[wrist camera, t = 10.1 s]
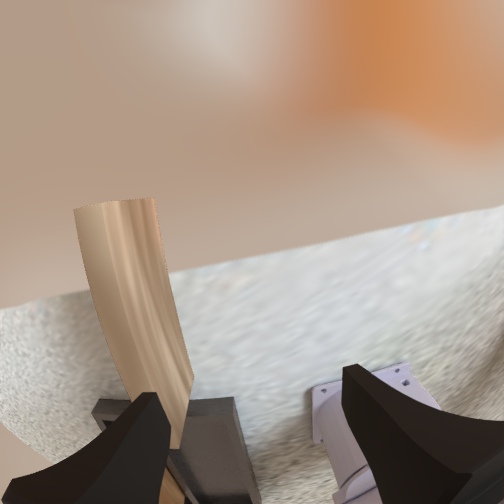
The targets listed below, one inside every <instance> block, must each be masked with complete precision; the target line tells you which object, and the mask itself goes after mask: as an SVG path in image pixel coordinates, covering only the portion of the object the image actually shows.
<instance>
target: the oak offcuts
mask: <svg viewBox="0 0 504 504" xmlns="http://www.w3.org/2000/svg"><path fill="white" fill-rule="evenodd" d="M184 499H185V492H184V491H183V489H182V488H181V486H180V485H179V483H178V482H177V480H176V479H175V477H174V476H173V474H172V473H171V471H170V470H169V468H168V466H167V465H166V467H165V472H164V476H163V481H162V485H161V490H160V496H159V504H184Z"/></svg>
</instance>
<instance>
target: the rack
mask: <svg viewBox="0 0 504 504" xmlns="http://www.w3.org/2000/svg"><path fill="white" fill-rule="evenodd" d="M131 403H132V401H131V400H110V399H99V400H98V402H97V404H96V406H95V407H94V409H93V411H92V412H91V413H92V415H93V417H94V419H95V420H96V422H97V424H98V425H99V427H100V429H101V430H102V432H103V431H104V430H105V429H106V428H107V427H108V426H109V425H111V424H112V423H113V422H114V421H115V420H116V419H117V418H118V417H119V416H120V415H121V414H122V413H123V412H124V411H125V409H126V408H127V407H128V406H129V405H130V404H131ZM166 465H167V466H168V468H169V470H170V471H171V473H172V474H173V476H174V477H175V479H176V480H177V482H178V483H179V485H180V486H181V488H182V489H183V491H184V492H185V499H184V504H262V502H261V496H260V493H259V490H258V486H257V483H256V480H255V476H254V473H253V469H252V466H251V462H250V459H249V455H248V452H247V448H246V444H245V440H244V437H243V433H242V429H241V425H240V421H239V417H238V414H237V410H236V406H235V401H234V397H226V398H214V399H200V400H189V403H188V408H187V412H186V417H185V422H184V427H183V432H182V437H181V442H180V447H179V449H169V454H168V458H167V463H166Z"/></svg>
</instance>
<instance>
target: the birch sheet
mask: <svg viewBox="0 0 504 504" xmlns="http://www.w3.org/2000/svg"><path fill="white" fill-rule="evenodd" d="M74 216H75V221H76V228H77V233H78V239H79V243H80V248H81V253H82V257H83V262H84V266H85V271H86V275H87V278H88V282H89V286H90V290H91V293H92V297H93V300H94V304H95V307H96V310H97V314H98V317H99V320H100V323H101V326H102V329H103V332H104V335H105V338H106V341H107V343H108V346H109V349H110V351H111V354H112V357H113V359H114V362H115V364H116V367H117V369H118V372H119V374H120V377H121V379H122V381H123V384H124V386H125V388H126V390H127V393H128V395H129V397H130V399H131V401H132V402H133V401H134V400H135V399H136V398H137V397H138V396H139V395H140V394H141V393H142V392H157V395H158V397H159V399H160V402H161V404H162V406H163V409H164V411H165V413H166V415H167V418H168V420H169V422H170V424H171V440H170V449H179V447H180V442H181V437H182V432H183V427H184V422H185V417H186V412H187V408H188V403H189V398H190V393H191V389H192V384H193V380H194V374H193V370H192V367H191V364H190V360H189V357H188V353H187V349H186V346H185V342H184V338H183V335H182V331H181V327H180V323H179V319H178V315H177V311H176V307H175V302H174V298H173V294H172V289H171V285H170V280H169V276H168V269H167V264H166V259H165V254H164V249H163V244H162V238H161V233H160V227H159V221H158V215H157V209H156V203H155V198H146V199H133V200H121V201H111V202H101V203H97V204H93V205H90V206H85V207H82V208H78V209H74Z"/></svg>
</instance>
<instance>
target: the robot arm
mask: <svg viewBox="0 0 504 504" xmlns="http://www.w3.org/2000/svg"><path fill="white" fill-rule="evenodd" d="M410 367H411V365H410V363H409V362H403V363H400V364H397V365H394V366H391V367H387V368H384V369H381V370H378V371H374V372H371V373H370V372H369V371H367V370H366V369H365V368H363V367H362V366H360V365H359V364H354V365H350V366H346V367H343V374H342V380H340V381H336V382H332V383H327V384H323V385H318V386H315V387H313V388H312V391H311V395H312V440H313V443H314V444H320V443H324V444H325V447H326V450H327V453H328V456H329V459H330V462H331V465H332V469H333V472H334V475H335V478H336V481H337V484H338V487H339V491H337V492H335V493H334V494H332V496H333V500H334V503H335V504H504V421H492V420H482V419H474V418H469V417H464V416H459V415H456V414H452V413H448V412H445V411H442V409H441V408H440V406H439V405H438V403H437V402H436V401H435V400H434V399H433V398H432V396H431V395H430V394H429V393H428V392H427V391H426V389H425V388H424V387H423V386H422V385H421V384H420V383H419V381H418V380H417V379H416V378H415V377H414V376H413V375H412V373H411V372H410ZM396 369H397V370H396ZM395 370H396V371H395ZM322 389H325V390H323V391H321V390H322ZM170 440H171V424H170V422H169V420H168V418H167V415H166V413H165V411H164V409H163V406H162V404H161V402H160V399H159V397H158V395H157V392H142V393H141V394H140V395H139V396H138V397H137V398H136V399H135V400H134V401H133V402H132V403H131V404H130V405H129V406H128V407H127V408H126V409H125V411H124V412H123V413H122V414H121V415H120V416H119V417H118V418H117V419H116V420H115V421H114V422H113V423H112V424H111V425H109V426H108V427H107V428H106V429H105V430H104V431H103V432H102V433H101V434H100V435H98V436H97V437H96V438H95V439H94V440H93V441H91V442H90V443H89V444H87V445H86V446H85V447H83V448H82V449H80V450H79V451H78V452H76V453H75V454H73V455H71V456H69V457H68V458H66V459H64V460H62V461H61V462H59V463H57V464H55V465H53V466H51V467H48V468H46V469H44V470H41V471H39V472H36V473H33V474H30V475H26V476H22V477H18V478H14V479H12V480H11V482H10V484H9V486H8V487H7V489H6V492H5V493H4V495H3V497H2V499H1V500H2V502H3V504H159V496H160V490H161V485H162V481H163V476H164V472H165V467H166V463H167V458H168V454H169V449H170Z"/></svg>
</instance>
